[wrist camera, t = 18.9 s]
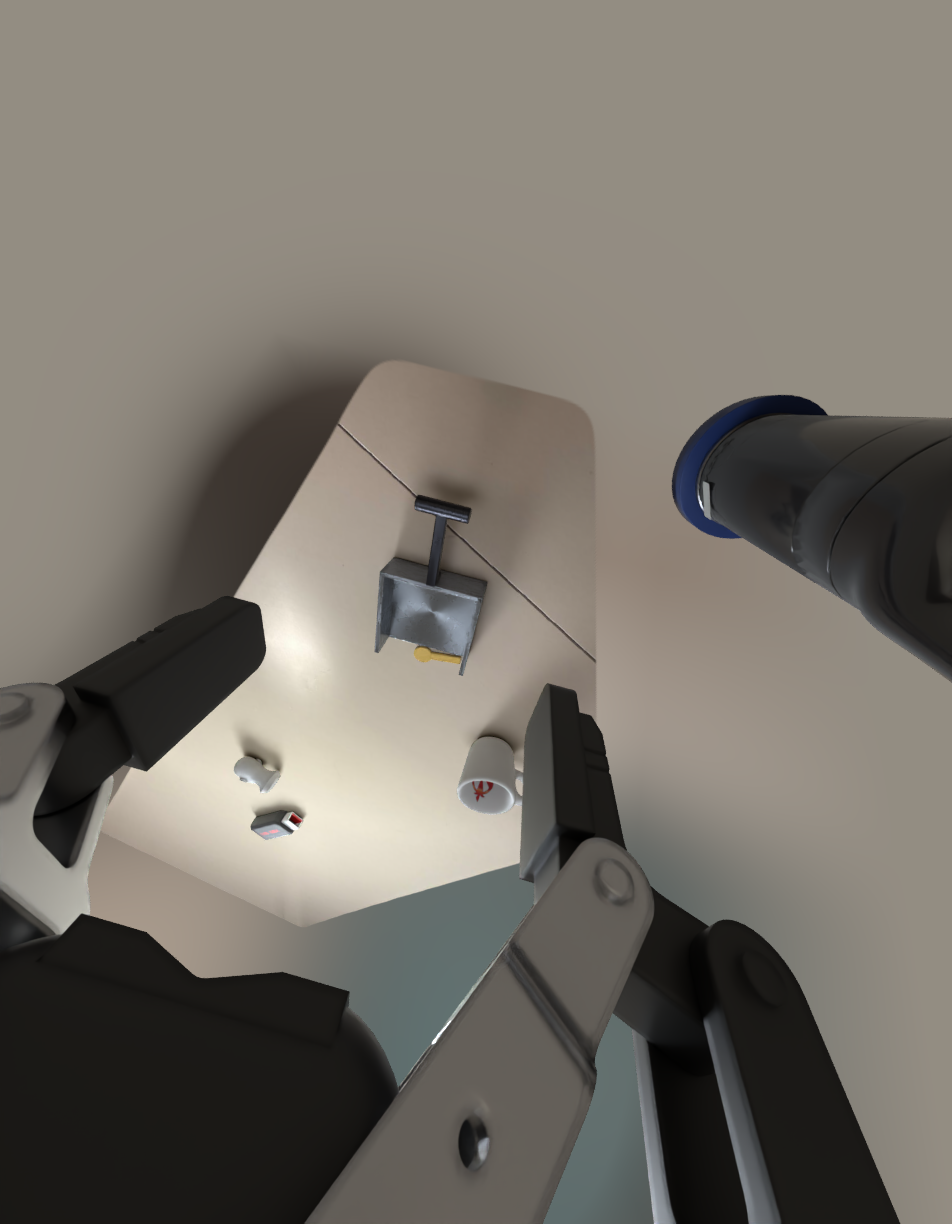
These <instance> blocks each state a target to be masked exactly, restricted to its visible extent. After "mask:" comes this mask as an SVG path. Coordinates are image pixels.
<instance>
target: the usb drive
mask: <svg viewBox="0 0 952 1224" xmlns="http://www.w3.org/2000/svg"><path fill="white" fill-rule="evenodd" d="M302 822H303V819H301V818H300V817H299V816H297V815H296V814H295V813H294V812H290V813H288V812H286V811H277V812H273V813H270V814H266V815H263V816H259V817H256V818H255V819H254V821H253V822H252V824H251V830H253V831H254V832H255V833H257V834H258V835H259V836H261V837H262V838H264V839H265V840H268V839H273V838H277V837H281V836H285V835H290V834H292V833H293V831H294V830H295V829H299V828H300V826H301V824H302Z"/></svg>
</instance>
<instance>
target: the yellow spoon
mask: <svg viewBox="0 0 952 1224" xmlns="http://www.w3.org/2000/svg"><path fill="white" fill-rule="evenodd" d="M414 656H415V658H416V659H417V660H419V661H421V662H428V661H430V660H431V659H432V660H438V661H444V662H450V663H456V664H460V660H461V656H455V655H449V654H442V653H436V652H431V650H430V649H429V648H427V647H425V646H419V647H417V648H416V649H415V651H414Z"/></svg>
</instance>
